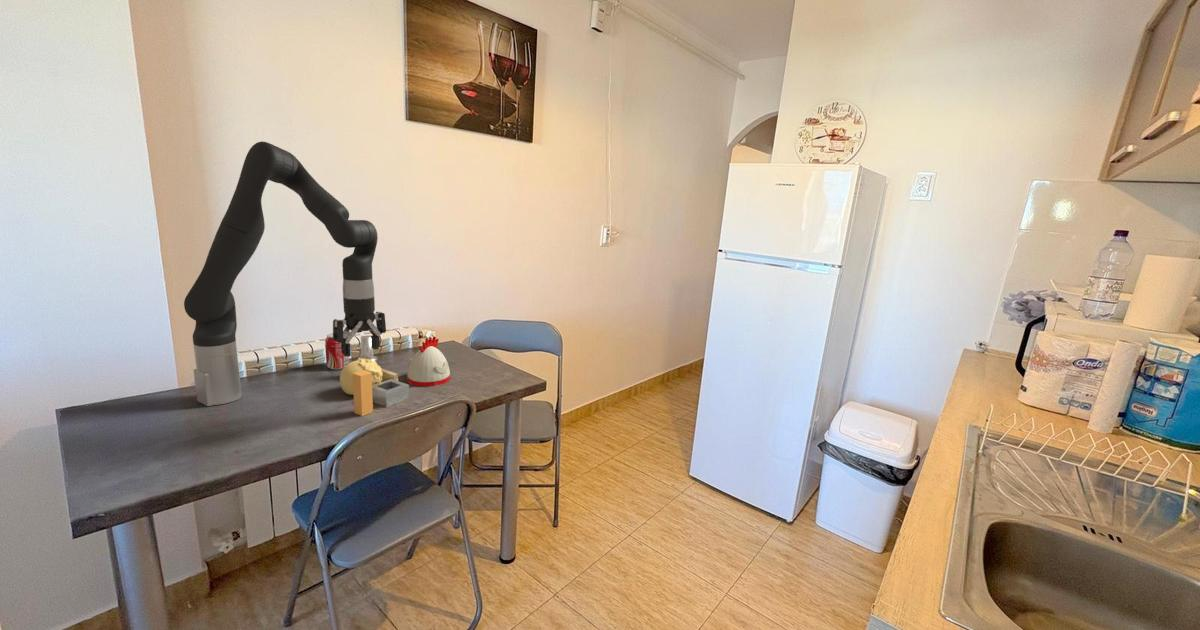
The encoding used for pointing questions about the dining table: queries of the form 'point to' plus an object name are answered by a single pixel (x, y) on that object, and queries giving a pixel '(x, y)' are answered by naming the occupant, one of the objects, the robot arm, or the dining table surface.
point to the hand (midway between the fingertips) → (361, 352)
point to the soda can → (334, 354)
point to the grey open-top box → (390, 392)
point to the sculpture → (357, 366)
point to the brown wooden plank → (389, 375)
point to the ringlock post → (367, 349)
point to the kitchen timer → (428, 366)
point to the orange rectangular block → (362, 392)
